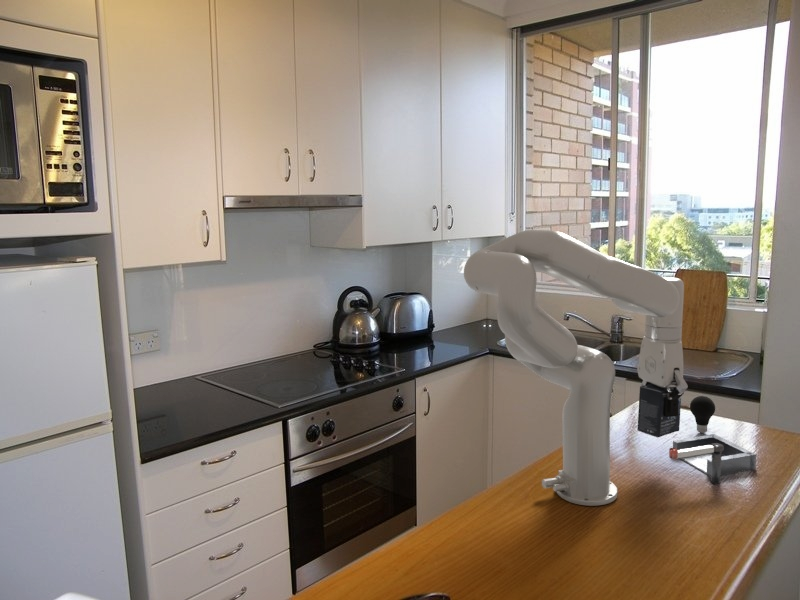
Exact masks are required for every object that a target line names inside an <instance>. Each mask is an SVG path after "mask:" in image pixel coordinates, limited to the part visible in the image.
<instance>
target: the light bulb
mask: <svg viewBox="0 0 800 600" xmlns="http://www.w3.org/2000/svg"><path fill="white" fill-rule="evenodd" d="M689 409H690V412H691V414H692V415H693V416H694V419H695V423H696V431H697V433H700V434H701V435H703V434H706V433H707V432H708V426H709V424H710V419H711V418H712V417H713V416H714V414H715V412H716V404H715V403H714V401H713V400H712V399H711V398H710V397H708V396H704V395H699V396H696V397H694V398H693V399H692V400H691V401H690V404H689Z"/></svg>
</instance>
